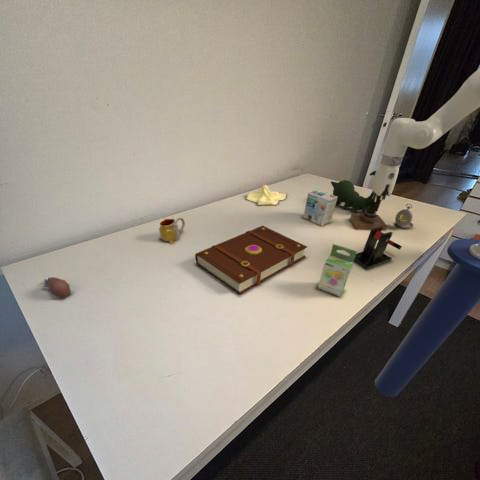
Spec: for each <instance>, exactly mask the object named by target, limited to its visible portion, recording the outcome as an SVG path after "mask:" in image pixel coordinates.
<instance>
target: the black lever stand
mask: <svg viewBox="0 0 480 480" xmlns="http://www.w3.org/2000/svg"><path fill="white" fill-rule="evenodd" d="M382 229H383V228H382V227H377V228H374V229H371V230H369V231H370V232H369V234H368V237H367V239H366V242H365V245H364V247H363V250H362V251H361V252H357V253H356V256H355V258H354V261H353V263H355V264H357V265H358V266H360V267H361V268H363V269H365V270H367V271H368V270H370V269H373V268H376V267H379V266H381V265H384V264H387V263H389V262H391V261H392V259H393V258H392V257H391V256H389V255H388V254H385V251H386V249H387V247H388V245H389V244H388V242H389V240H391V238H392V236H393V234H394V232H392V231H388V232H383V230H382ZM377 231H380V232H383V233H384V234H381V236H380V238H379V240H377V239H376V238H374V237H373V236H374V235H375V234H376V232H377Z"/></svg>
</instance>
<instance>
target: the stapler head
mask: <svg viewBox="0 0 480 480" xmlns="http://www.w3.org/2000/svg"><path fill="white" fill-rule="evenodd" d="M384 233H385V232H383V231H381V232H380V231H377V232H376V234H375V235H374V236H373V237H374V238H376V239H377V241H379V238H380V236H381V234H384ZM388 245H389V246H391V247H393V248H395V249H397V250H398V251H400V250H401V248H403V246H402V245H401V244H398V243H397V242H395V241H394V240H391V239H390V240H389V242H388Z"/></svg>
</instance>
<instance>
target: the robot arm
mask: <svg viewBox="0 0 480 480" xmlns="http://www.w3.org/2000/svg"><path fill="white" fill-rule="evenodd" d="M479 108H480V67H479V68H478V69H477V70H476V71H474V72H473V73H472V74H470V75H469V77H468V78H467V79H466V80H465V81H463V83H462V85H461V87H460V88H459V89H458V90H457V91H456V93H454V95H452V97H451V98H450V99H449V100H448V101H446V102H445V103H444V104H443V105H442V106H441V107H440V108H439V109H437V111H435V113H433V114H432V115H431V116H430V117H429V118H427V119H426V120H423V121H416V120H415V119H414V118H411V117H410V118H408V117H397V118H395V119H394V120H392V122H391V124H390V127H389V130H388V133H387V136H386V140H385V142H384V145H383V148H382V152H381V155H380V158H379V161H378V163H377V164H378V166H377V169H376V170H375V171H376V173H375V176H374V175H373V179H372V182H371V185H370V186H371V187H370V188H371V190H372V191H371V193H372V192H373V196H372V201H371V204H370V206H369V211H370V212H376V213H377V212H378V211H379V209H380V205H381V203H382V201H385V200H386V198H387V197H390V196H392V193H393V191H394V188H395V185H396V182H397V179H398V175H399V171H400V167H401V165H402V162H403V159H404V157H405V154H406V152H407V149H408V147H409V148H411V149H416V150H422V149H425V148H427V147H429V146H430V145H432V144H433V143H435V142H436V141H437V140H439V139H440V138H441V137H442V136H443V135H445V134H447V132H449V131H450V130H451V129H452V128H453V127H455V126H456V125H457V124H458V123H460V122H461V121H462V120H464V119H465V118H466V117H468V116H469V115H470V114H472V113H473V112H474V111H476V110H478V109H479ZM469 252H470V253H471V254H472V255H473V256H474V257H476V258H478V259H480V242H479V244H474V245H472V246H470V248H469Z"/></svg>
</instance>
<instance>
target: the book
mask: <svg viewBox="0 0 480 480" xmlns="http://www.w3.org/2000/svg"><path fill="white" fill-rule="evenodd" d="M306 248H308V246H307V245H305V244H303V243H300V242H298V241H296V240H294V239H292V238H290V237H288V236H286V235H284V234H282V233H279V232H277V231H275V230H273V229H272V228H269V227H267V226H264V225H261V226H258V227H256V228H253V229H251V230H248V231H245V232H244V233H241V234H239V235H237V236H234V237H232V238H229V239H227V240H225V241H222V242H220V243H217V244H214V245H212V246H210V247H208V248H206V249H203V250H201V251H199V252H196V253H194V254H195V255H194V258H195V259H194V260H195V263H196V264H197V265H198V266H199V267H200V268H202V269H204V270H205V271H206V272H208V273H209V274H211V275H212V276H214V277H215V278H216V279H218V280H219V281H221V282H222V283H223V284H225V285H226V286H228V287H229V288H231V289H232V290H234V291H235V292H236V293H238V294H239V295H242V294H243V293H245V292H247V291H249V290H251V289H252V288H254V287H255V286H256V287H257V286H259V285H260V284H261V283H263V282H264V281H266V280H268V279H270V278H271V277H273V276H275V275H277V274H279V273H280V272H283V270H286V269H287V268H289V267H292V266H294V264H296V263H298V262H300V261H301V260H304V259H305V258H306V255H305V250H306Z"/></svg>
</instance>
